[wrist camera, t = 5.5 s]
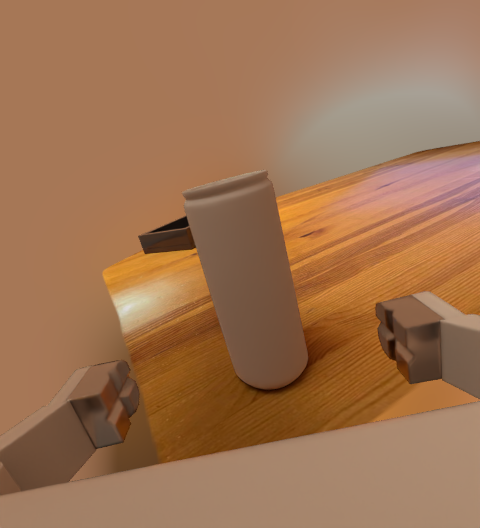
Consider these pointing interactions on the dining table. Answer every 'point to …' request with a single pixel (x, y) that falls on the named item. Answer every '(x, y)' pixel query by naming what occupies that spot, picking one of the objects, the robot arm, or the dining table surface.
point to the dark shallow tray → (168, 237)
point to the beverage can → (249, 277)
